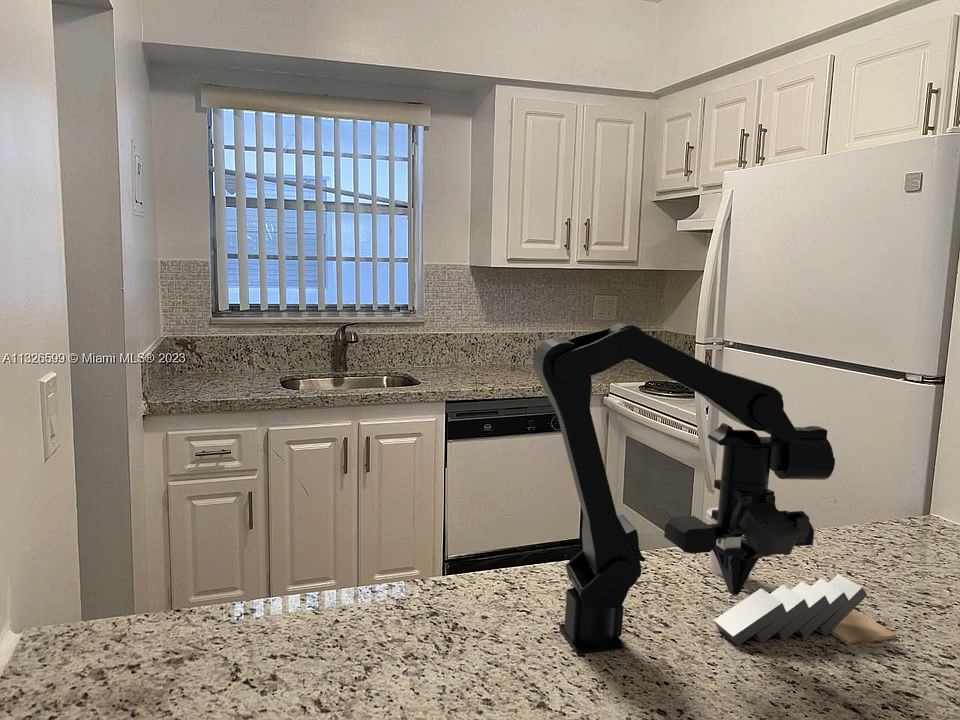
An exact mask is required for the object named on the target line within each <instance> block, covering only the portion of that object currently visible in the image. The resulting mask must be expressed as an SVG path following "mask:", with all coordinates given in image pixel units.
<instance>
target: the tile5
mask: <svg viewBox="0 0 960 720" xmlns="http://www.w3.org/2000/svg"><path fill="white" fill-rule="evenodd" d="M828 583H829V584H831V585H833V586H835V587H836V588H838V589H840V590H841V591H843V592H844V593H845V595H846V597H847V598H848V600H849V601H848V602H847V603H846V604H844V605H843V606H842V607H841V608H840V609H839V610H837V611H836V612H835V613H834V614H833V615H832V616H830V617H829V618H828V619H827V620H826V621H825V622H823V623H822V624H821V625H820V626H819V627H818V628H817V630H816V631H818V632H820V633H821V634H822V635H824V636H825V637H827V636H828V635H829V634H831V633H830V632H831V631H832V630H833V629H834V628H835V627H836V626H837V625H838V624H839V623H840V622H841V621H842V620H843V619H844V618H845V617H846V616H847V615H848V614H849V613H850V612H851V611H852V610H853V609H856V608H857V606H859V605H860V603H861V602H863V600H864V599H865V598H867V596H868V594H867V592H866V591H865V589H864V588H863V587H862V586H861V585H859V584H857V583H855V582H853V581H852V580H850V579H848V578H846V577H845V576H842V575H841V574H839V573H837V574H836V575H835V576H834V577H833V578H832V579H831V580H830V581H829V582H828Z"/></svg>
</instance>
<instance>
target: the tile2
mask: <svg viewBox="0 0 960 720" xmlns="http://www.w3.org/2000/svg"><path fill="white" fill-rule="evenodd" d="M769 594H770V595H772V596H773V597H775V598H776V599H778V600H779V601H781V602H782V603H783V605H784V608H785V610H786V613H785V614H783V615H782V616H781V617H779V618H778V619H776V620H775V621H773V622H772V623H770V624H769V625H768V626H766V627H765V628H763V629H762V630H760V631H759V632H757V633H756V634H754V635H753V636H752V637H753V639H756V641H758V642H759V643H760V644H764V643H765V642H766V641H768V640H769V639H770V638H772V636H775V635H776V634H775V633H777V632H778V631H779V630H781V629H782V628H783V627H785V626H786V625H787V624H789V623H790V622H791V621H793V620H794V619H795V618H797V617H798V616H799V615H801V614H802V613H803V612H805V611H806V610H807V609H809V607H808V605H807V603H806V601H805V599H804V598H803V597H801V596H800V595H798V594H796V593H795V592H793V591H792V589H790V588H789V587H788V586H787V587H786V586H785V585H784V584H781V585H780V586H779V587H777V588H776V589H775V590H773V591H772V592H770V593H769Z"/></svg>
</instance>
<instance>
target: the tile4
mask: <svg viewBox="0 0 960 720" xmlns="http://www.w3.org/2000/svg"><path fill="white" fill-rule="evenodd" d="M810 586H811V587H813V588H814V589H816V590H817V591H819V592H821V593H822V594H824V595H825V596H826V598H827V600H828V602H829V605H828V606H827V607H826V608H824V609H823V610H822V611H821V612H819V613H818V614H817V615H816V616H814V617H813V618H812V619H811V620H809V621H808V622H807V623H806V624H805V625H803V626H802V627H801V628H800V629H798V630H797V631H796V632H795V633H796V634H798V635H799V636H800V637H801V638H803V639H807V637H809V635H811V634H812V633H813V632H814V631H815V630H816V629H817V628H818V627H819V626H820V625H821V624H822V623H823V622H825V621H826V620H827V619H828V618H829V617H830V616H832V615H833V614H834V613H835V612H836V611H837V610H839V609H840V608H841V607H842V606H843V605H844V604H846V603H847V602H848V601H849V600H848V598H847V597H846V595H845V593H844V592H843V591H841V590H840V589H838V588H836V587H835V586H833V585H831V584H829V582H828V581H826V580H825V579H822V578H821V577H820V578H819V579H818V580H816V581H815V582H814V583H813V584H812V585H810Z"/></svg>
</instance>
